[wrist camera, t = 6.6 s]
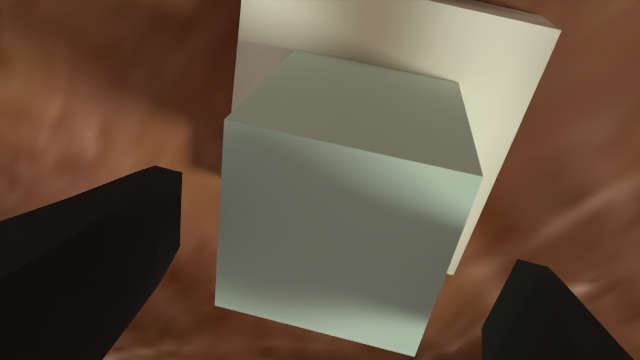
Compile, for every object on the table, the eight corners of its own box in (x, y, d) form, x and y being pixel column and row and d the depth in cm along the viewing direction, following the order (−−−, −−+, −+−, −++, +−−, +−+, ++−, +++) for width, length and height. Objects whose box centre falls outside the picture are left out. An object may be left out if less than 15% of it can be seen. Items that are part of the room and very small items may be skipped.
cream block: (535, 12, 15) (561, 30, 13) (447, 229, 20) (453, 275, 17) (273, -46, 16) (245, -41, 13) (246, 177, 20) (221, 214, 18)
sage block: (458, 82, 14) (483, 176, 8) (415, 219, 16) (414, 356, 11) (295, 49, 14) (224, 119, 9) (278, 187, 17) (214, 305, 11)
